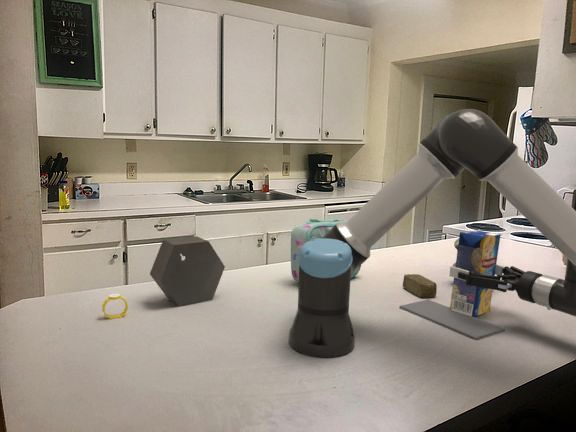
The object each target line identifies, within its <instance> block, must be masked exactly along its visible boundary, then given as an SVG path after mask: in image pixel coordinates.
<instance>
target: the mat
mask: <svg viewBox="0 0 576 432" xmlns="http://www.w3.org/2000/svg"><path fill="white" fill-rule="evenodd" d="M399 309H401V310H404V311H406V312H408V313H411V314H413V315H415V316H418V317H420V318H422V319H425V320H427V321H429V322H432V323H433V324H437V325H439V326H441V327H444V328H446V329H448V330H451V331H453V332H456V333H458V334H460V335H463V336H464V337H468V338H470V339H472V340H474V341H477V340H480V339H485V338H487V337H490V336H494V335H496V334H500V333H503V332H505V331H506V328H505V327H502V326H499V325H497V324H494V323H491V322H490V321H487V320H484V319H481V318H478V317H477V316H475V317H471V316H468V315H465V314H461V313H458V312H455V311H451V310H450V306H447V305H444V304H442V303H438V302H436V301H434V300H431V299H429V298H427V299H425V300H424V299H423V300H420V301H416V302H411V303H406V304H402V305H399Z"/></svg>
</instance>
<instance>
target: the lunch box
mask: <svg viewBox="0 0 576 432" xmlns="http://www.w3.org/2000/svg"><path fill="white" fill-rule="evenodd" d="M348 221H349V220H345V219H339V218H329V219H319V220H318V219H317V218H309V221H304V222H301V223H298V224H296V225H294V227H293V229H292V230H291V234H290V237H291V238H290V271H291V276H292V278H293V280H294V281H295V282H297V283H299V255H300V250H301V247H302V246H303V245H304V244H305V243H306V242H308V241H311V240H312V241H313V240H314V239H319V238H321V237H323V236H324V235H325V234H326V233H327V232H329V231H330V230H331V229H332V228H333V227H334V226H335V225H336V224H337V223H346V222H348ZM361 267H362V264H361V265H360V266H359V267H358V268H357V269H356V270H355V271H354V272H353V273H352V276H351V279H352V278H355V277H356V276H357V275H358V274H359V272H360V270H361Z"/></svg>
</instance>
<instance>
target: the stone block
mask: <svg viewBox="0 0 576 432" xmlns="http://www.w3.org/2000/svg"><path fill="white" fill-rule="evenodd" d="M402 287H403V289H405V290H406V291H408V292H409V293H411V294H412V295H415V296H417V297H419V298H422V299H429V298H430V299H431V298H435V297H437V291H438V290H437V289H438V288H437V284H436V282H435V281H433V280H432V279H429V278H427V277H425V276H424V275H421V274H417V273H416V274H415V273H414V274H403V281H402Z"/></svg>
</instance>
